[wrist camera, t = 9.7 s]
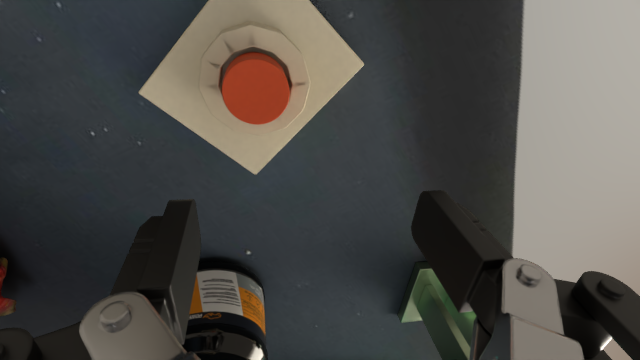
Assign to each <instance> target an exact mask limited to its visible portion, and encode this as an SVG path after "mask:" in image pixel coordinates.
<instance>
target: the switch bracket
mask: <svg viewBox="0 0 640 360" xmlns="http://www.w3.org/2000/svg"><path fill="white" fill-rule="evenodd" d="M398 317H399V320H400V322H401V323H402V322H412V321H421V320H423V322H424V324H425V326H426V328H427V330H428V332H429V334H430V336H431V338H432V340H433V342H434V344H435V346H436V348H437V350H438V352H439V354H440V356H441V358H442V360H469V357H470V347H471V338H472V329H473V322H474V320H475V318H476V314H475V313H474V311H471V312H462V313H459V312H458V311H457V309H456V307H455V306H454V304H453V303H452V301H451V299H450V298H449V296H448V294H447V293H446V291H445V290H444V288H443V286H442V285H441V283H440V281H439V280H438V278H437V277H436V275H435V273H434V272H433V270H432V268H431V267H430V265H429V264H428V262H416V264H415V266H414V269H413V272H412V275H411V278H410V281H409V284H408V287H407V289H406V292H405V295H404V298H403V301H402V304H401V307H400V309H399V312H398Z"/></svg>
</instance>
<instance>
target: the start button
mask: <svg viewBox="0 0 640 360" xmlns="http://www.w3.org/2000/svg"><path fill="white" fill-rule="evenodd" d="M222 96H223V100H224V103H225V105H226V107H227V108H228V110H229V111H230V112H231V113H232V114H233V115H234V116H235V117H236V118H238V119H239V120H241V121H243V122H246V123H249V124H255V125H259V124H266V123H269V122H271V121H273V120H275V119H277V118H278V117H279V116H280V115H281V114H282V113H283V112H284V110H285V109H286V107H287V105H288V102H289V97H290V90H289V85H288V81H287V79H286V76H285V73H284V71H283V69H282V67H281V66H280V64H279V63H278V62H277V61H276V60H274V59H273V58H272V57H270V56H268V55H266V54H263V53H259V52H248V53H244V54H242V55H239V56H238V57H236V58H235V59H234V60H233V61H232V62H231V63H230V64H229V66H228V67H227V69H226V72H225V75H224V79H223V84H222Z"/></svg>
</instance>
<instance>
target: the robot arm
mask: <svg viewBox="0 0 640 360" xmlns="http://www.w3.org/2000/svg"><path fill="white" fill-rule="evenodd" d="M411 231H412V236H413V239H414V241H415V242H416V244H417V246H418V247H419V249H420V251H421V252H422V254H423V255H424V257H425V259H426V260H427V262H428V264H429V265H430V267H431V268H432V270H433V272H434V273H435V275H436V277H437V278H438V280H439V281H440V283H441V285H442V286H443V288H444V290H445V291H446V293H447V294H448V296H449V298H450V299H451V301H452V303H453V304H454V306H455V307H456V309H457V311H458V312H459V313H462V312H471V311H474V313H475V314H476V318H475V320H474V322H473V329H472V338H471V347H470V357H469V360H612V359H611V358H610V357H609V356H608V355H607V354H606V352H605V351H604V350H603V348H604V347H605V346H606V345H607V344H608V343H609V341H610V340H611V339H612V338H613V339H614V340H615V341H616V342H617V343H618V344H619V345H620V347H621V348H622V349H623V350H624V351H625V352H626V353H627V354H628V355H629V356H630V357H631V358H632V359H633V360H640V296H639V295H638V294H636V293H635V292H634V291H633V290H632V289H631V288H629V287H628V286H627V285H625V284H624V283H623V282H621V281H619V280H617V279H615V278H614V277H611V276H609V275H606V274H603V273H600V272H594V271H588V272H585V273H583V274H582V276H581V277H580V278H579V280H578V281H577V283H574V282H568V281H562V280H557V279H553V278H552V277H551V275H550V274H549V273H548V272H547V271H545V270H544V269H543V268H541V267H540V266H538V265H536V264H534V263H532V262H530V261H527V260H524V259H518V258H513V257H512V256H511V255H510V253H509V252H508V251H507V250H506V249H505V248H504V247H503V246H502V245H501V244H500V243H499V242H498V241H497V239H496V238H495V237H494V236H493V235H492V234H491V233H490V232H489V231H487V230H486V228H485V227H484V225H483V224H482V223H479V220H478V219H477V218H476V217H475V216H474V215H473V214H472V213H471V211H469V210H468V209H466V208H464V207H463V206H461V205H460V204H458V203H455V202H454V200H453V199H452V198H451V197H450V196H449V195H448V194H447V193H446V192H445V191H443V190H440V191H423V192H422V193H421V194H420V197H419V200H418V203H417V207H416V210H415V214H414V217H413V221H412V226H411ZM200 252H201V235H200V229H199V222H198V215H197V209H196V203H195V200H194V199H188V200H169V202H168V204H167V207H166V209H165V212H164V215H163V216H154V217H151V218H149V219H148V220H147V221H146V222H145V223H144V224H143V225H142V226H141V227H140V228H139V230H138V232H137V235H136V237H135V239H134V243H133V244H132V246H131V248H130V250H129V254H128V255H127V257H126V260H125V262H124V264H123V266H122V269H121V271H120V273H119V275H118V278H117V280H116V282H115V284H114V287H113V289H112V291H111V293H110V295H109V296H108V297H106V298H104V299H102V300H101V301H99V302H98V303H96V304H95V305H94V306H93V307H92V308H90V309H89V311H88V312H87V313H86V314H85V316H84V317H83V319H82V321H80V322H78V323H76V324H73V325H71V326H68V327H65V328H62V329H59V330H56V331H54V332H51V333H48V334H45V335H42V336H39V337H36V338H33V337H32V336H31V334H30V333H29V332H28V331H26V330H24V329H21V328H5V329H0V360H201V359H200V358H199V357H198V356H197V355H196V354H195V353H194V352H192V351H190V352H189V353H188V352H187V351H186V350H185V349H184V348H183V347H182V344H184V341H185V335H186V330H187V324H188V319H189V313H190V308H191V302H192V297H193V291H194V286H195V280H196V275H197V269H198V264H199V258H200Z"/></svg>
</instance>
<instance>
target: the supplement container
mask: <svg viewBox="0 0 640 360" xmlns="http://www.w3.org/2000/svg"><path fill="white" fill-rule="evenodd" d="M264 301H265V295H264V289H263V286H262V284H261V282H260V280H259V279H258V278H257V276H256V275H255V274H254V273H252V272H251V271H250V270H248V269H246V268H245V267H242V266H240V265H237V264H234V263H229V262H220V261H213V262H204V263H199V264H198V269H197V275H196V280H195V286H194V291H193V297H192V302H191V308H190V313H189V319H188V324H187V330H186V335H185V341H184V344H182V347H183V348H184V349H185V350H186V351H187V352H188V353H189V352H190V351H192V352H194V353H195V354H196V355H197V356H198V357H199V358H200V359H201V360H268V353H267V349H266V336H265V312H264Z"/></svg>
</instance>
